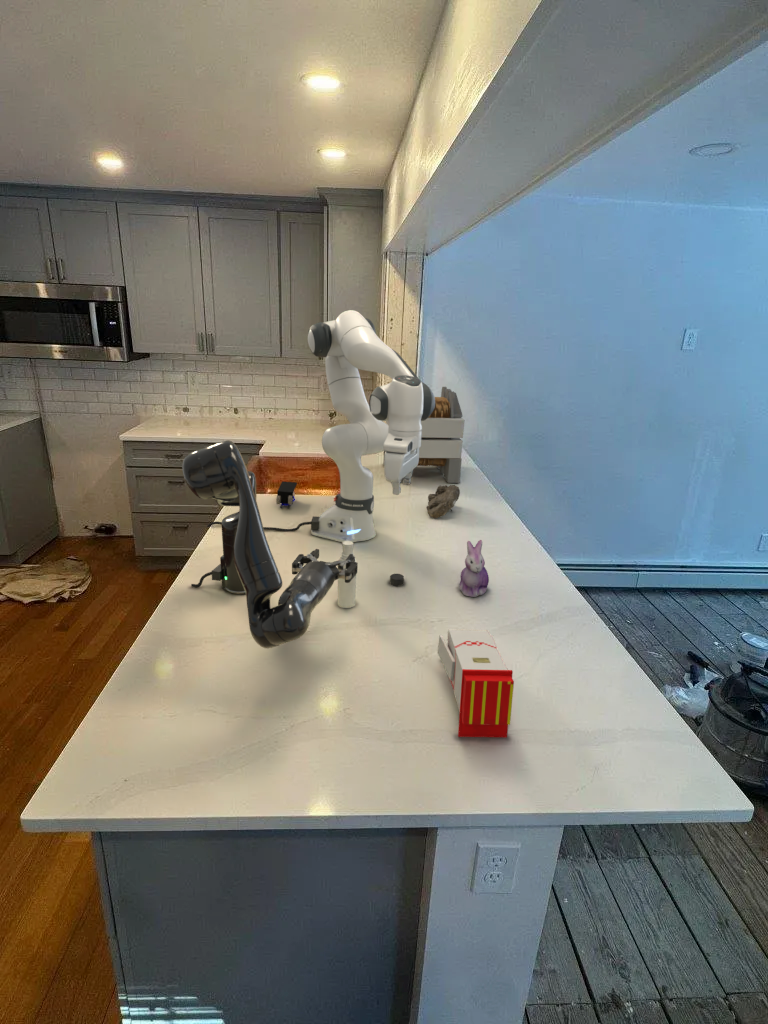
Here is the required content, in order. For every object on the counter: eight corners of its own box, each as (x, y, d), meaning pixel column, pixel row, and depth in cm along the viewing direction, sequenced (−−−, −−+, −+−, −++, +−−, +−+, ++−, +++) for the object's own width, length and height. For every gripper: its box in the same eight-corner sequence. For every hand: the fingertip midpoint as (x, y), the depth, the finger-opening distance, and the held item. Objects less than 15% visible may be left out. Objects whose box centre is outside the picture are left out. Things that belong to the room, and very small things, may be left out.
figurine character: (293, 513, 218) (297, 497, 231) (292, 495, 215) (297, 480, 228) (275, 513, 218) (281, 496, 231) (274, 495, 214) (280, 479, 228)
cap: (387, 584, 163) (388, 578, 162) (392, 578, 167) (392, 572, 166) (401, 587, 162) (401, 580, 161) (405, 581, 165) (405, 574, 165)
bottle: (353, 598, 154) (355, 538, 148) (356, 607, 150) (358, 546, 144) (336, 600, 153) (337, 539, 147) (339, 608, 149) (340, 546, 143)
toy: (488, 613, 130) (523, 677, 101) (484, 667, 133) (517, 744, 104) (435, 612, 130) (455, 676, 101) (432, 666, 133) (451, 743, 103)
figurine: (470, 601, 155) (475, 551, 150) (449, 585, 164) (454, 537, 159) (497, 594, 160) (504, 545, 154) (476, 579, 168) (481, 532, 163)
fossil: (423, 490, 234) (453, 471, 229) (436, 508, 237) (466, 489, 232) (421, 514, 215) (454, 493, 210) (435, 532, 217) (468, 512, 212)
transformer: (382, 463, 289) (386, 382, 275) (445, 464, 293) (451, 384, 279) (390, 482, 257) (394, 392, 243) (460, 483, 261) (468, 394, 247)
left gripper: (342, 574, 118) (363, 544, 133) (279, 564, 121) (306, 536, 136) (342, 606, 120) (362, 573, 135) (279, 595, 123) (306, 564, 138)
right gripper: (404, 431, 160) (401, 478, 165) (380, 445, 142) (378, 498, 146) (426, 433, 158) (422, 480, 163) (405, 448, 140) (402, 501, 144)
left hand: (334, 555), depth 135 cm, fingers open, 8 cm apart
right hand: (401, 489), depth 154 cm, fingers open, 8 cm apart
